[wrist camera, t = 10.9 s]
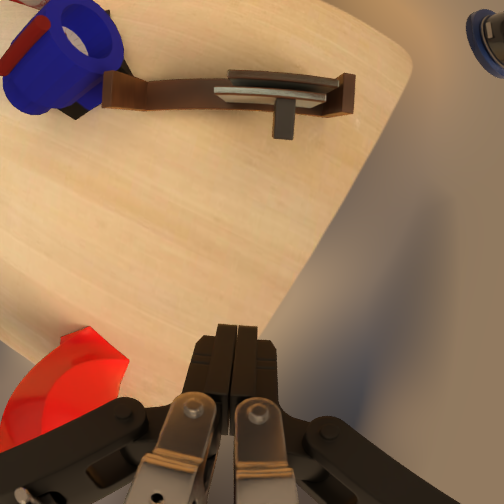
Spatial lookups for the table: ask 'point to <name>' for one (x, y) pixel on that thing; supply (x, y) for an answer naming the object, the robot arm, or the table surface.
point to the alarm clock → (62, 59)
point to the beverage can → (33, 3)
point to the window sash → (277, 97)
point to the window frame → (202, 90)
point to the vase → (63, 387)
